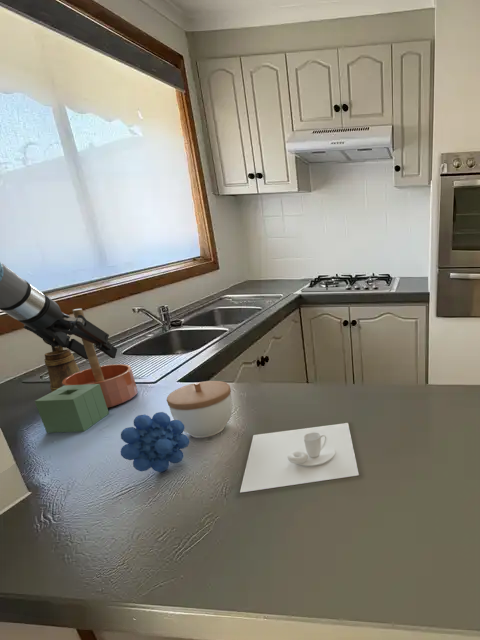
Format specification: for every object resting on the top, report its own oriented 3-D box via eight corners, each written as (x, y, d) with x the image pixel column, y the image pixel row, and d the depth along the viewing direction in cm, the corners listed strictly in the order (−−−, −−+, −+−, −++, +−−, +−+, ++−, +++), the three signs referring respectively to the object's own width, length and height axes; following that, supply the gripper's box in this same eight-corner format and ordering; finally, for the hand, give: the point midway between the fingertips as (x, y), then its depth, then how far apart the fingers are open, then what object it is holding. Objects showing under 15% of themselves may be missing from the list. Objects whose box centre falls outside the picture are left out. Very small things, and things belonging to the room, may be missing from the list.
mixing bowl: (57, 414, 106) (46, 387, 103) (97, 390, 120) (89, 365, 117) (115, 412, 105) (107, 384, 102) (149, 387, 119) (142, 362, 116)
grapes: (143, 495, 71) (123, 432, 67) (125, 482, 75) (105, 422, 71) (205, 462, 80) (191, 405, 75) (186, 452, 84) (172, 397, 79)
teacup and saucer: (288, 471, 75) (284, 451, 74) (289, 448, 82) (286, 430, 81) (337, 464, 76) (334, 444, 75) (334, 442, 83) (332, 424, 82)
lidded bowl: (237, 412, 100) (228, 368, 96) (238, 436, 88) (228, 388, 84) (179, 423, 96) (168, 378, 92) (173, 450, 85) (160, 400, 81)
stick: (99, 400, 111) (70, 310, 103) (104, 397, 113) (76, 308, 105) (106, 399, 111) (78, 310, 103) (111, 396, 113) (83, 308, 105)
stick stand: (46, 433, 96) (34, 401, 93) (74, 415, 105) (64, 385, 102) (84, 431, 96) (72, 399, 93) (109, 413, 104) (99, 383, 101)
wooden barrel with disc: (88, 376, 132) (70, 320, 126) (87, 389, 121) (67, 328, 115) (54, 383, 128) (33, 325, 122) (50, 397, 117) (27, 334, 111)
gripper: (78, 289, 92) (140, 340, 113) (-6, 294, 93) (70, 343, 114) (68, 319, 88) (134, 365, 109) (-19, 324, 90) (62, 368, 111)
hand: (101, 354), depth 112 cm, fingers open, 6 cm apart
